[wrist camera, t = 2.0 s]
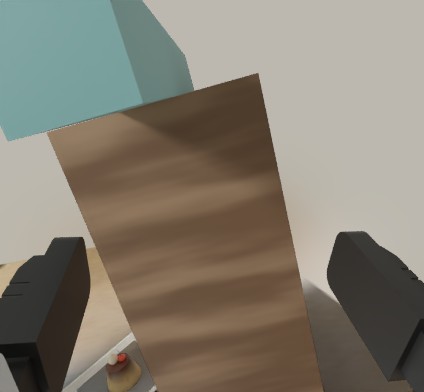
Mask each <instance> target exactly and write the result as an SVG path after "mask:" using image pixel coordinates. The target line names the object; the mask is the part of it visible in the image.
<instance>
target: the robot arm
mask: <svg viewBox="0 0 424 392" xmlns="http://www.w3.org/2000/svg"><path fill="white" fill-rule="evenodd" d="M327 280H328V284H329V286H330V288H331V290H332V291H333V293H334V295H335V296H336V298H337V299H338V301H339V303H340V304H341V306H342V307H343V309H344V311H345V312H346V314H347V316H348V317H349V319H350V320H351V322H352V324H353V325H354V327H355V328H356V330H357V332H358V333H359V335H360V336H361V338H362V340H363V341H364V343H365V345H366V346H367V348H368V349H369V351H370V353H371V354H372V356H373V357H374V359H375V361H376V362H377V364H378V365H379V367H380V369H381V370H382V372H383V374H384V375H385V377H386V378H387V380H388V381H398V380H407V381H408V383H409V384H410V386H411V387H410V389H409V391H408V392H424V283H423V282H422V281H421V280H418V277H417V276H416V275H415V274H414V273H413V272H412V271H411V270H409V269H408V267H407V266H406V265H405V264H404V263H403V262H402V261H401V260H400V259H399V258H398V257H397V256H396V255H394V254H393V253H391V252H389V251H388V250H386V249H385V248H383V247H381V246H379V245H378V244H377V243H376V242H375V241H374V240H373V239H372V238H371V237H370V236H369V235H368V234H367V233H366V232H363V231H356V232H340V233H339V234H338V235H337V237H336V240H335V244H334V247H333V251H332V254H331V257H330V261H329V265H328V268H327ZM89 294H90V273H89V267H88V260H87V254H86V248H85V242H84V239H83V237H60V238H54V239H53V240H52V242H51V244H50V246H49V248H48V250H47V251H46V253H45V255H39V256H33V257H32V258H30V259H29V260H28V261H27V262H26V263H24V264H23V265H22V266H21V267H19V268H18V270H17V271H16V273H15V275H14V276H13V278H12V280H11V281H10V285H9V286H7V288H6V289H5V291H4V292H3V294H2V298H0V392H61V391H62V388H63V384H64V381H65V377H66V374H67V371H68V367H69V364H70V360H71V357H72V354H73V350H74V347H75V343H76V340H77V336H78V333H79V330H80V326H81V323H82V319H83V316H84V313H85V309H86V306H87V302H88V299H89Z"/></svg>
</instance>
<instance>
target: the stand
mask: <svg viewBox="0 0 424 392" xmlns="http://www.w3.org/2000/svg"><path fill="white" fill-rule="evenodd" d="M47 134H48V137H49V139H50V142H51V144H52V146H53V149H54V151H55V153H56V156H57V158H58V160H59V163H60V165H61V167H62V169H63V172H64V174H65V176H66V179H67V181H68V183H69V186H70V188H71V190H72V193H73V195H74V197H75V200H76V202H77V204H78V207H79V209H80V211H81V214H82V216H83V218H84V221H85V223H86V225H87V228H88V230H89V232H90V235H91V237H92V239H93V242H94V243H95V246H96V249H97V251H98V253H99V256H100V258H101V260H102V263H103V265H104V267H105V270H106V272H107V274H108V277H109V279H110V281H111V284H112V286H113V288H114V290H115V293H116V295H117V297H118V300H119V302H120V304H121V307H122V309H123V311H124V314H125V316H126V318H127V321H128V323H129V325H130V328H131V330H132V332H133V335H134V337H135V339H136V342H137V344H138V346H139V349H140V351H141V353H142V356H143V358H144V360H145V363H146V365H147V367H148V370H149V372H150V374H151V377H152V379H153V381H154V384H155V386H156V388H157V391H158V392H325V390H324V388H323V385H322V381H321V377H320V372H319V367H318V362H317V357H316V352H315V347H314V342H313V338H312V333H311V328H310V323H309V318H308V313H307V308H306V303H305V299H304V294H303V289H302V284H301V279H300V274H299V269H298V264H297V260H296V255H295V250H294V245H293V241H292V235H291V230H290V225H289V221H288V217H287V211H286V206H285V202H284V196H283V191H282V187H281V182H280V177H279V172H278V167H277V162H276V157H275V152H274V148H273V143H272V138H271V133H270V128H269V124H268V118H267V113H266V108H265V104H264V99H263V94H262V90H261V84H260V80H259V74H258V73H256V74H253V75H249V76H246V77H242V78H239V79H235V80H232V81H228V82H225V83H221V84H218V85H214V86H211V87H207V88H203V89H200V90H196V91H193V92H189V93H186V94H182V95H178V96H175V97H171V98H168V99H164V100H161V101H157V102H154V103H150V104H147V105H143V106H139V107H136V108H132V109H129V110H125V111H122V112H118V113H115V114H111V115H108V116H104V117H100V118H97V119H93V120H90V121H87V122H83V123H79V124H76V125H72V126H69V127H65V128H62V129H58V130H54V131H51V132H48V133H47Z"/></svg>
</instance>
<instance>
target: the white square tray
mask: <svg viewBox="0 0 424 392" xmlns="http://www.w3.org/2000/svg"><path fill="white" fill-rule="evenodd" d="M132 341H136V339H135V337H134V335H133V332H131V333H130V334H128V335H127V336H126V337H125V338H124V339H123V340H121V341H120V342H119V343H118V344H117V345H115V346H114V347H113V348H112V349H111V350H109V351H108V352H107V353H106V354H105V355H104V356H102V357H101V358H100V359H99V360H98V361H96V362H95V363H94V364H93V365H92V366H90V367H89V368H88V369H87V370H86V371H85V372H83V373H82V374H81V375H80V376H79V377H77V378H76V379H75V380H74V381H73V382H71V383H70V384H69V385H68V386H67V387H65V388H64V389H63V390H62V392H77V389H78V388H79V387H81V386H82V385H83V384H84V383H85V382H86V381H88V380H89V379H90V378H91V377H92V376H93V375H94V374H96V373H97V372H98V371H99V370H100V369H101V368H102V367H104V366H105V365H106V364H107V365H106V375H107V384H108V390H109V391H110V392H126V391H128V390H129V389H131V388H132V387H133V386H134V385H135V384H136V383H137V382H138V380H139V378H140V376H141V368H140V366H139V365H138V364H137V363H135V361H134V360H133V359H132V358H131V357H130V356H129V355H127V354H126V353H120V352H121V351H122V350H123V349H124V348H125V347H127V346H128V345H129V344H130V343H131V342H132ZM156 390H157V388H156V386H155V385H154V386H153V387H152V388H151V389H150V390H149V391H148V392H155V391H156Z"/></svg>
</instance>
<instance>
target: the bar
mask: <svg viewBox="0 0 424 392" xmlns="http://www.w3.org/2000/svg"><path fill="white" fill-rule="evenodd" d="M193 91H194V88H193V84H192V80H191V76H190V73H189V69H188V65H187V62H186V58H185V55H184V54H183V52H182V51H181V50H180V49H179V47H178V46H177V45H176V43H175V42H174V41H173V40H172V38H171V37H170V36H169V35H168V33H167V32H166V31H165V29H164V28H163V27H162V26H161V24H160V23H159V22H158V20H157V19H156V18H155V16H154V15H153V14H152V13H151V11H150V10H149V9H148V7H147V6H146V5H145V4H144V3H143V1H142V0H0V126H1V128H2V130H3V132H4V134H5V136H6V138H7V140H8V141H12V140H15V139H19V138H23V137H27V136H31V135H34V134H38V133H42V132H46V131H50V130H53V129H57V128H61V127H65V126H69V125H72V124H76V123H80V122H84V121H88V120H92V119H95V118H99V117H103V116H107V115H111V114H114V113H118V112H122V111H125V110H129V109H132V108H136V107H139V106H143V105H147V104H150V103H154V102H157V101H161V100H164V99H168V98H171V97H175V96H178V95H182V94H186V93H189V92H193Z"/></svg>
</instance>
